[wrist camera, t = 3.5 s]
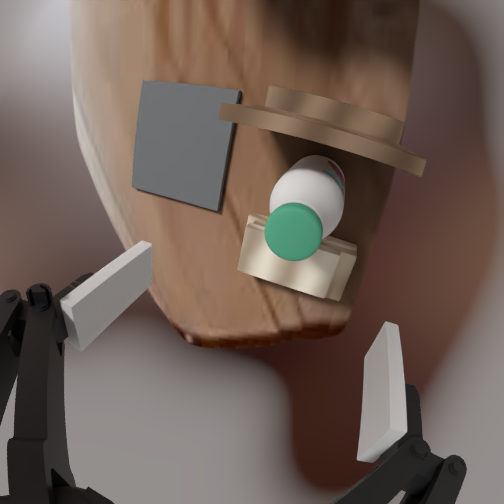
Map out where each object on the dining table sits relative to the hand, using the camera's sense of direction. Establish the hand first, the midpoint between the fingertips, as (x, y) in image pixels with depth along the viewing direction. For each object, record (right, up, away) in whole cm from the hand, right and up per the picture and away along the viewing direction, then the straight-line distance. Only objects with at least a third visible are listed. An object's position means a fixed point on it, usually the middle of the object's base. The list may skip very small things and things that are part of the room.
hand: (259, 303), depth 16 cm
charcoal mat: (-11, +19, +28) cm, 36 cm away
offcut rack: (+8, +11, +26) cm, 29 cm away
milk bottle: (+9, +12, +25) cm, 29 cm away
